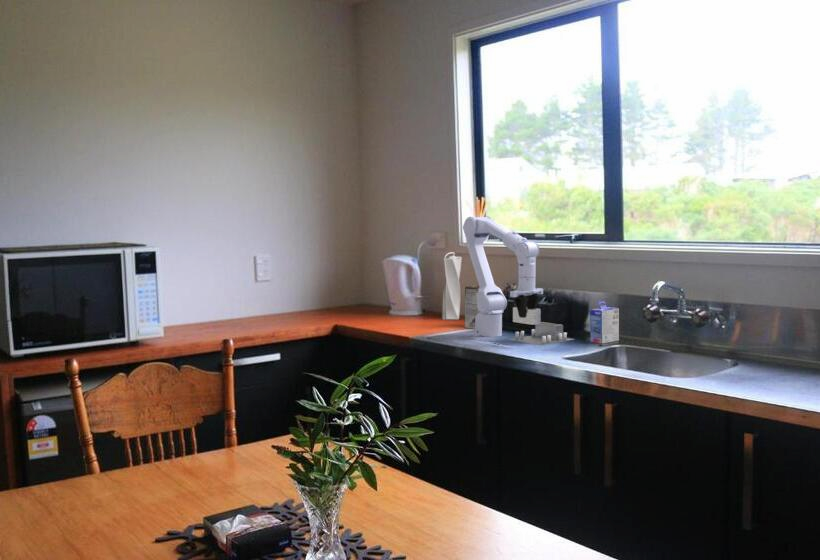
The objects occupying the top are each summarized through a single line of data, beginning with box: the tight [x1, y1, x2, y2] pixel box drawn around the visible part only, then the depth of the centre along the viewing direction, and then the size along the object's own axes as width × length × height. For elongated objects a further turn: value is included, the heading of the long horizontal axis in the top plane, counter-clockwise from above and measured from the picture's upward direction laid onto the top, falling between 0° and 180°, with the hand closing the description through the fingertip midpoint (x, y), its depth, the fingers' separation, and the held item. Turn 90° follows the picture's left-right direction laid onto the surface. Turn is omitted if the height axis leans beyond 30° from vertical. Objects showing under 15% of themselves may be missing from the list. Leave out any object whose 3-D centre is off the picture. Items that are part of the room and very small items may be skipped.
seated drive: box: [534, 321, 564, 340], centre depth 277 cm, size 9×4×5 cm, turn 40°
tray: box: [507, 328, 576, 346], centre depth 275 cm, size 15×18×4 cm
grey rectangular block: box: [512, 306, 542, 326], centre depth 270 cm, size 9×4×5 cm, turn 40°
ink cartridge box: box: [589, 300, 620, 347], centre depth 271 cm, size 10×6×14 cm, turn 130°
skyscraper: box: [441, 251, 463, 321], centre depth 332 cm, size 8×8×28 cm
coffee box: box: [464, 284, 480, 330], centre depth 309 cm, size 9×6×16 cm
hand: (526, 316), depth 270 cm, fingers closed on grey rectangular block, 4 cm apart
